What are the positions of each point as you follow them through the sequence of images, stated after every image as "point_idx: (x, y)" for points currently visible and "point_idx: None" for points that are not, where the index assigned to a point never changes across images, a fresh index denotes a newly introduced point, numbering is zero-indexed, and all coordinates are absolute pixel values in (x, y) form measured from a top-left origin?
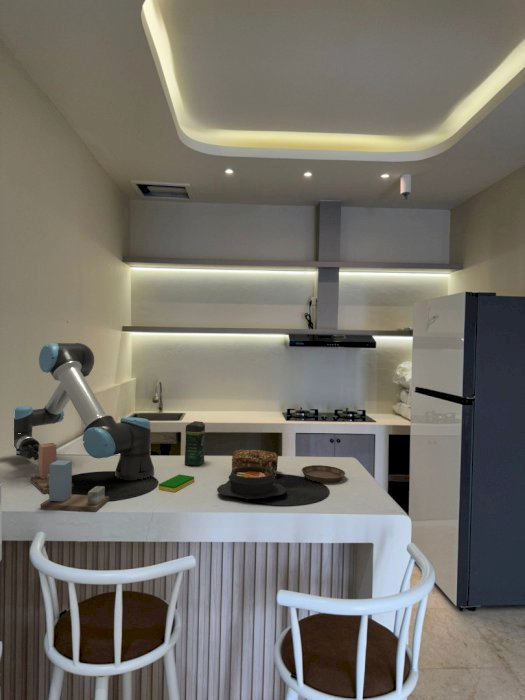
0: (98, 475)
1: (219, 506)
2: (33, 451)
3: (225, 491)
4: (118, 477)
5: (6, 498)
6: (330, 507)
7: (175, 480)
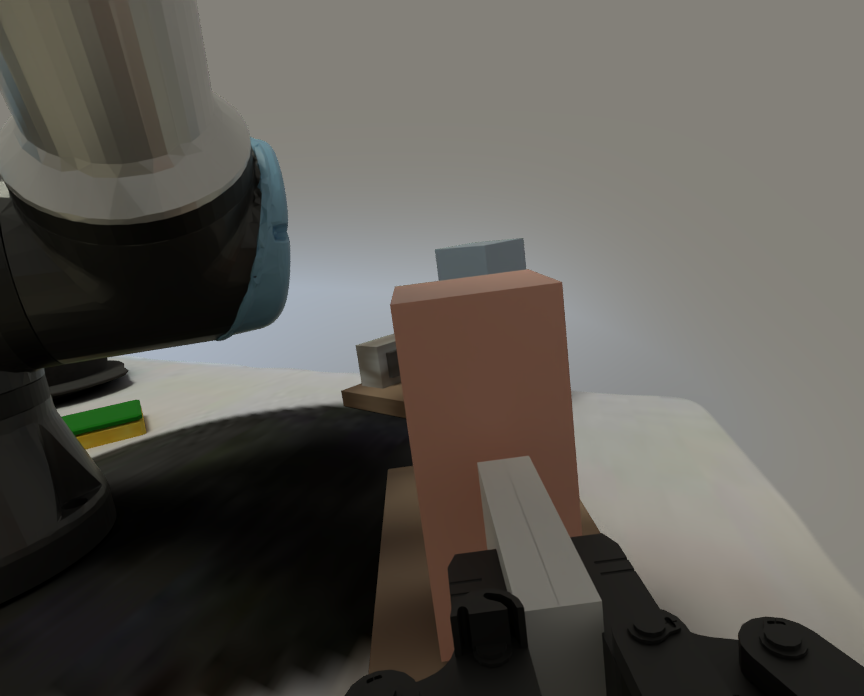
0: (104, 625)
1: (175, 373)
2: (717, 686)
3: (105, 374)
4: (109, 522)
5: (755, 466)
6: None
7: (66, 423)
